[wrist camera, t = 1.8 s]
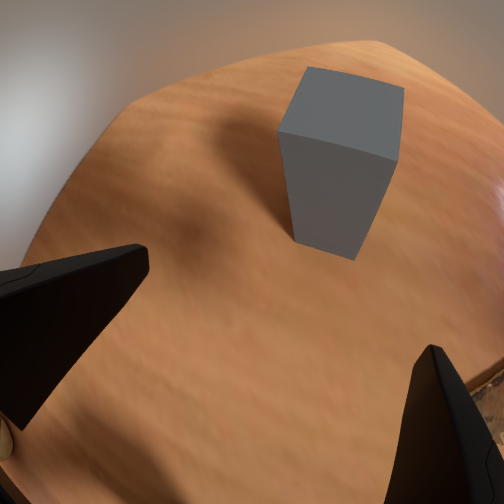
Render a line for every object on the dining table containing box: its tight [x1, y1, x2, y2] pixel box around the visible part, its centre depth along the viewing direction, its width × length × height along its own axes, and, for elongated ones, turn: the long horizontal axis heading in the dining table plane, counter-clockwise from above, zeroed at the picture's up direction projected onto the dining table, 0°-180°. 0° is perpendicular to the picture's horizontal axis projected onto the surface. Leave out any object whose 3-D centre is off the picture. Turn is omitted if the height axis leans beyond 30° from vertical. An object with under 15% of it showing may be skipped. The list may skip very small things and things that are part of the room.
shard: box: [470, 368, 504, 446], centre depth 15 cm, size 11×8×2 cm
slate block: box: [277, 67, 404, 260], centre depth 17 cm, size 5×5×13 cm
